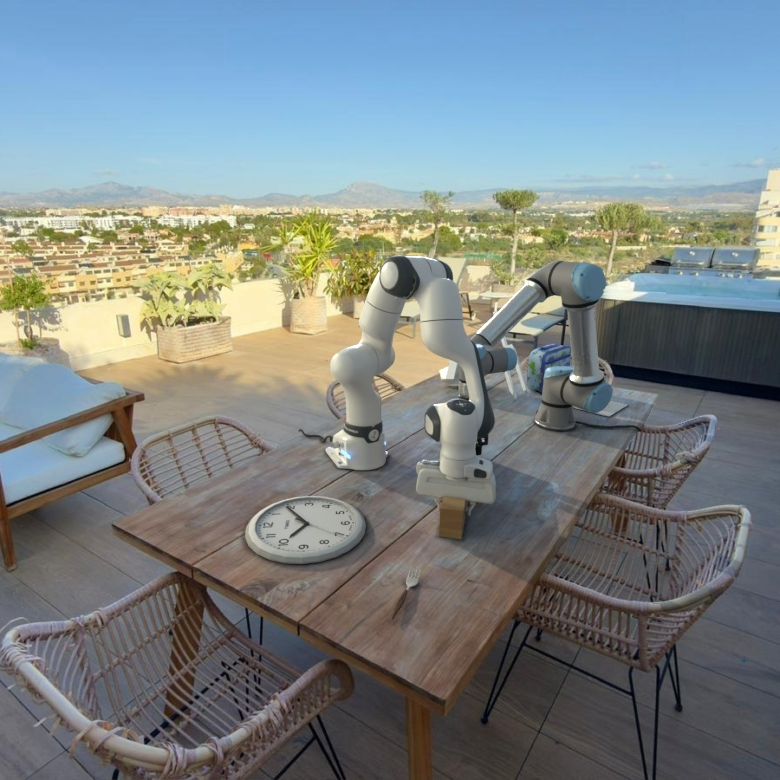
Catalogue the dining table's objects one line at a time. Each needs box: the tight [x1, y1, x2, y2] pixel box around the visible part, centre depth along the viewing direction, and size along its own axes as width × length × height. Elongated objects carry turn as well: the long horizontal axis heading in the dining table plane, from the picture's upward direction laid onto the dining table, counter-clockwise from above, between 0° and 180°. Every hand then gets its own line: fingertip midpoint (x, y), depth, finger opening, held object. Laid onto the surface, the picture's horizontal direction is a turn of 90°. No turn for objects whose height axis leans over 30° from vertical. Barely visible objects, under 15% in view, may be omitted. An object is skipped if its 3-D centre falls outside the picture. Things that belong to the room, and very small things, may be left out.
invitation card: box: [573, 400, 629, 418], centre depth 226 cm, size 21×1×15 cm
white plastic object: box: [438, 310, 531, 400], centre depth 245 cm, size 37×45×31 cm
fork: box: [391, 565, 422, 620], centre depth 108 cm, size 3×16×2 cm, turn 160°
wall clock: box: [244, 495, 367, 565], centre depth 132 cm, size 30×2×30 cm
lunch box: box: [526, 343, 572, 394], centre depth 248 cm, size 26×11×21 cm, turn 135°
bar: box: [438, 441, 478, 540], centre depth 151 cm, size 51×6×8 cm, turn 167°
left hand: (454, 512), depth 135 cm, fingers closed on bar, 5 cm apart
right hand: (466, 462), depth 169 cm, fingers closed on bar, 6 cm apart
